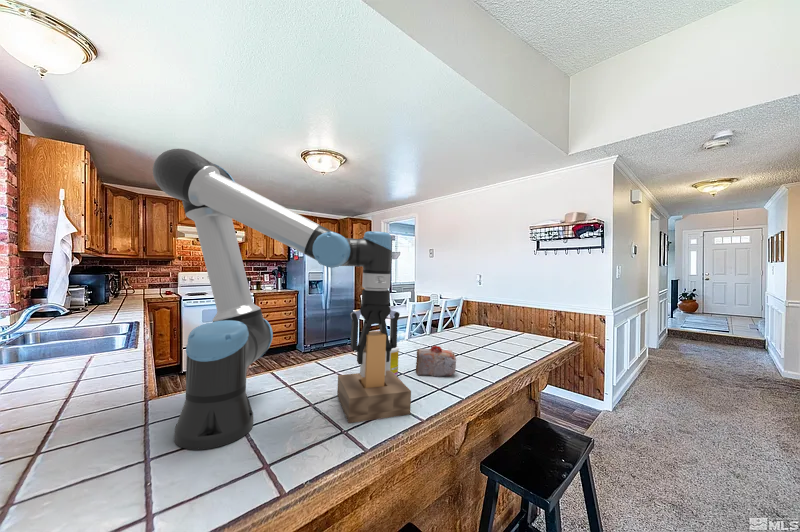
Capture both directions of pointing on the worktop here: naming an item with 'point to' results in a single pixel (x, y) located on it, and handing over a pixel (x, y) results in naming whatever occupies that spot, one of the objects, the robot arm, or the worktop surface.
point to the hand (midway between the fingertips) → (372, 374)
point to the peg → (374, 360)
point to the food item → (435, 362)
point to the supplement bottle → (393, 360)
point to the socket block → (373, 398)
